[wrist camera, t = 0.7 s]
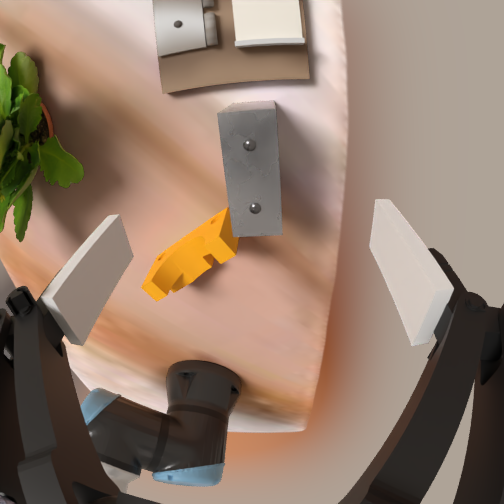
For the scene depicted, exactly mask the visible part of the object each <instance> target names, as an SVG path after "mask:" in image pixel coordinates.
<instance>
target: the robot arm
mask: <svg viewBox="0 0 504 504" xmlns="http://www.w3.org/2000/svg"><path fill="white" fill-rule="evenodd" d="M369 247H370V250H371V252H372V254H373V256H374V258H375V260H376V262H377V264H378V266H379V268H380V271H381V273H382V275H383V277H384V279H385V282H386V284H387V286H388V288H389V291H390V293H391V295H392V298H393V300H394V303H395V305H396V307H397V310H398V312H399V315H400V317H401V320H402V322H403V325H404V327H405V330H406V333H407V335H408V338H409V341H410V344H411V346H416V345H421V344H427V343H429V341H430V339H431V337H432V335H433V333H434V334H435V337H436V339H437V342H436V344H435V346H434V347H433V349H432V351H431V353H430V354H429V356H428V359H429V360H428V362H427V365H426V367H425V369H424V371H423V373H422V375H421V378H420V380H419V382H418V384H417V386H416V388H415V390H414V392H413V394H412V396H411V398H410V400H409V402H408V404H407V405H406V408H405V409H404V411H403V413H402V415H401V416H400V418H399V420H398V422H397V423H396V425H395V427H394V428H393V430H392V432H391V433H390V435H389V437H388V438H387V440H386V441H385V443H384V445H383V446H382V448H381V449H380V451H379V452H378V454H377V455H376V457H375V458H374V459H373V461H372V462H371V464H370V465H369V466H368V468H367V469H366V471H365V472H364V473H363V475H362V476H361V477H360V479H359V480H358V481H357V483H356V484H355V485H354V486H353V488H352V489H351V490H350V492H349V493H348V494H347V495H346V496H345V497H344V498H343V499H342V500H341V501H340V502H339V503H338V504H420V503H421V501H422V499H423V497H424V496H425V494H426V492H427V491H428V489H429V487H430V486H431V484H432V482H433V480H434V478H435V477H436V475H437V472H438V471H439V469H440V467H441V465H442V463H443V461H444V459H445V457H446V455H447V452H448V450H449V448H450V446H451V444H452V441H453V439H454V436H455V434H456V432H457V429H458V427H459V424H460V421H461V419H462V416H463V414H464V411H465V408H466V405H467V402H468V399H469V396H470V393H471V390H472V386H473V383H474V379H475V384H474V400H473V410H472V411H473V412H472V419H471V427H470V434H469V440H468V446H467V451H466V456H465V461H464V466H463V471H462V474H461V478H460V482H459V486H458V489H457V493H456V496H455V499H454V502H453V504H504V304H503V306H502V307H501V308H495V307H489V306H488V305H487V303H486V301H485V300H484V299H483V298H482V297H481V296H479V295H478V294H475V293H473V292H467V290H466V288H465V287H464V286H463V284H462V282H461V281H460V279H459V278H458V276H457V275H456V273H455V272H454V271H453V270H452V268H451V266H450V265H448V262H447V261H446V259H445V258H444V257H443V255H442V254H440V253H439V252H438V251H437V250H435V249H434V248H430V249H427V247H426V246H425V244H424V243H423V242H422V240H421V239H420V238H419V236H418V235H417V234H416V232H415V231H414V230H413V228H412V227H411V226H410V224H409V223H408V222H407V220H406V219H405V218H404V217H403V215H402V214H401V213H400V212H399V210H398V209H397V208H396V207H395V206H394V204H393V203H392V202H391V201H390V200H389V199H376V200H375V208H374V216H373V224H372V231H371V238H370V245H369ZM133 257H134V256H133V253H132V250H131V247H130V244H129V241H128V238H127V235H126V232H125V229H124V226H123V223H122V220H121V217H120V214H117V215H109V216H108V217H107V218H106V219H105V220H104V221H103V222H102V223H101V224H100V225H99V226H98V227H97V228H96V229H95V231H94V232H93V233H92V234H91V235H90V236H89V237H88V238H87V240H86V241H85V242H84V243H83V244H82V245H81V246H80V248H79V249H78V250H77V251H76V252H75V253H74V255H73V256H72V257H71V258H70V259H69V261H68V262H67V263H66V264H65V266H64V267H63V268H62V269H61V270H60V271H59V272H58V273H57V275H56V276H55V278H53V280H52V281H51V282H50V284H49V285H48V286H47V288H46V289H45V290H44V292H43V293H42V294H41V296H40V297H39V298H38V300H37V301H35V299H34V298H33V296H32V294H31V293H30V291H29V289H28V288H27V287H26V286H21V287H18V288H17V289H15V290H14V291H12V292H11V293H10V294H9V296H8V297H7V300H6V304H7V305H8V307H9V308H10V310H11V312H12V313H13V315H14V316H9V314H8V313H7V311H6V310H5V309H0V504H160V503H157V502H153V501H150V500H146V499H143V498H139V497H135V496H132V495H129V494H126V492H127V487H128V483H130V482H131V481H133V480H135V479H137V478H139V477H140V473H141V469H145V470H148V471H152V472H153V474H152V476H153V479H154V480H155V481H159V482H163V483H168V484H176V485H184V486H213V485H216V484H218V483H219V482H220V481H221V478H222V473H223V467H224V465H225V463H224V460H225V450H226V440H227V430H228V420H229V416H230V414H231V412H232V410H233V408H234V406H235V404H236V402H237V400H238V398H239V396H240V393H241V381H240V379H239V377H238V376H237V375H236V374H235V373H233V372H232V371H230V370H228V369H227V368H224V367H222V366H219V365H217V364H213V363H209V362H204V361H193V360H191V361H181V362H177V363H175V364H173V365H172V366H171V367H170V368H169V370H168V373H167V377H166V387H167V396H168V410H167V414H164V413H161V412H159V411H156V410H153V409H151V408H148V407H146V406H143V405H141V404H138V403H136V402H133V401H131V400H129V399H126V398H124V397H122V396H121V395H120V394H115V393H112V392H110V391H107V390H105V389H102V388H96V389H94V390H92V391H91V392H90V393H89V395H88V396H87V397H86V398H85V400H84V402H83V403H82V405H81V407H80V404H79V400H78V398H77V393H76V390H75V387H74V382H73V379H72V375H71V370H70V366H69V362H68V357H67V352H66V347H65V344H64V343H63V341H62V338H63V336H64V335H65V336H66V337H67V339H68V340H69V342H70V343H71V344H76V345H82V346H83V345H84V343H85V341H86V339H87V337H88V335H89V333H90V331H91V329H92V328H93V326H94V324H95V322H96V320H97V318H98V316H99V315H100V313H101V311H102V309H103V307H104V306H105V304H106V302H107V300H108V299H109V297H110V295H111V293H112V292H113V290H114V288H115V286H116V285H117V283H118V281H119V280H120V278H121V276H122V275H123V273H124V271H125V270H126V268H127V267H128V265H129V263H130V262H131V260H132V258H133ZM4 348H5V349H6V350H7V351H8V353H9V354H10V355H11V358H10V360H9V359H8V358H7V357H6V356H5V355H4Z"/></svg>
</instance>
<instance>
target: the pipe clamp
mask: <svg viewBox="0 0 504 504" xmlns="http://www.w3.org/2000/svg"><path fill="white" fill-rule="evenodd" d="M238 241H239V237H233V232H232V225H231V217H230V210H229V208H228V207H227V208H226V209H224V210H223V211H221V212H220V213H218V214H217V215H215V216H214V217H212V218H211V219H209V220H208V221H206V222H205V223H204V224H202V225H201V226H199V227H198V228H196V229H195V230H193V231H192V232H191V233H189V234H188V235H186V236H185V237H183V238H182V239H181V240H179V241H178V242H176V243H175V244H174V245H172V246H171V247H169V248H168V249H167V250H165V251H164V252H162V253H161V254H160V255H158V256H157V258H156V260H155V262H154V264H153V265H152V267H151V269H150V271H149V273H148V275H147V277H146V279H145V281H144V283H143V285H142V287H141V288H142V289H143V290H144V291H145V292H147V293H148V294H149V295H150V296H151V297H152V298H153V299H154V300H155V301H159V300H160V299H162V298H164V297H166V296H167V295H168V293H169V291H170V290H171V291H172V292H173V293H174V292H176V291H178V290H180V289H181V288H183V287H185V286H186V285H188V284H190V283H192V282H193V281H194V280H195V279H196V278H197V277H198V276H200V275H201V274H202V273H203V272H205V271H206V270H208V269H209V268H211V267H212V265H213V261H214V258H215V259H216V260H217V261H218V262H219V263H220V264H222V263H223V262H225V261H227V260H229V259H230V258H232V257H234V256H235V255H236V252H237V247H238Z"/></svg>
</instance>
